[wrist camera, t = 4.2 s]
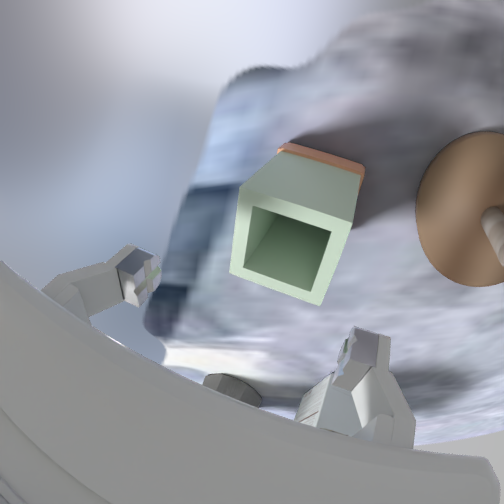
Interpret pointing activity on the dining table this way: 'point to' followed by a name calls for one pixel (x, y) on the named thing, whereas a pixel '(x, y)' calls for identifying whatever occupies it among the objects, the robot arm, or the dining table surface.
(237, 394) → the coffeepot
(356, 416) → the supplement box
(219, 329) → the dining table surface
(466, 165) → the pin base
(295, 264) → the sleeve
